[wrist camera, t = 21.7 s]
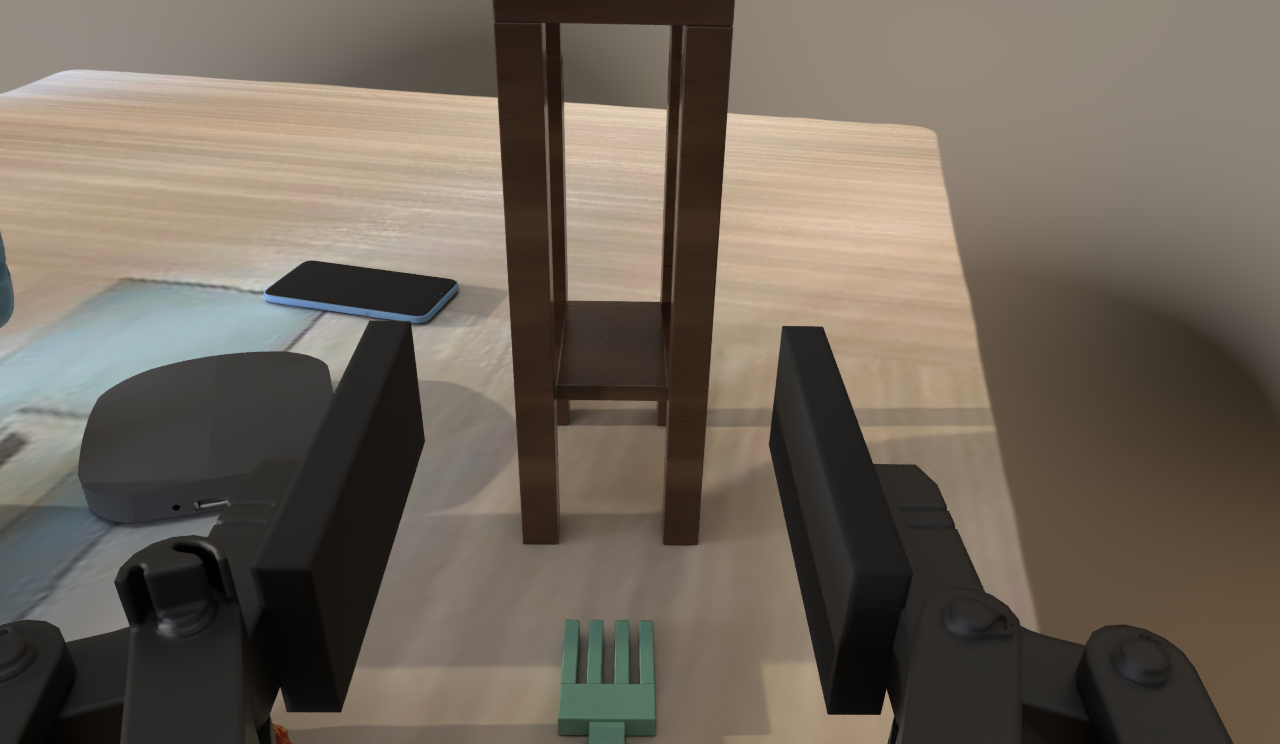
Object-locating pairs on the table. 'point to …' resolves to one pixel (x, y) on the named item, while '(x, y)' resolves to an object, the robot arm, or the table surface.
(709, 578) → the table surface
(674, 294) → the plant stand
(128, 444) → the media streaming box
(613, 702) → the fork
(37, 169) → the table surface
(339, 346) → the table surface
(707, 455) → the table surface
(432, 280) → the smartphone
